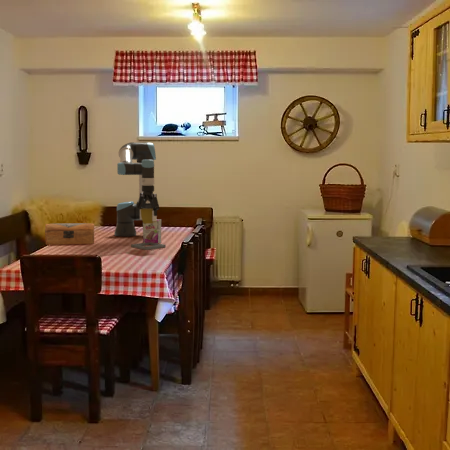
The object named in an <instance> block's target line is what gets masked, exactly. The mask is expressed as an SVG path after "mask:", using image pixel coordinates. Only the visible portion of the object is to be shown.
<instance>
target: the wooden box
mask: <svg viewBox="0 0 450 450" xmlns="http://www.w3.org/2000/svg"><path fill="white" fill-rule="evenodd" d="M44 234H45V235H44V237H45V245H93V244H95V224H94V223H93V222H92V223H73V222H72V223H67V222H66V223H45V227H44Z"/></svg>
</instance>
